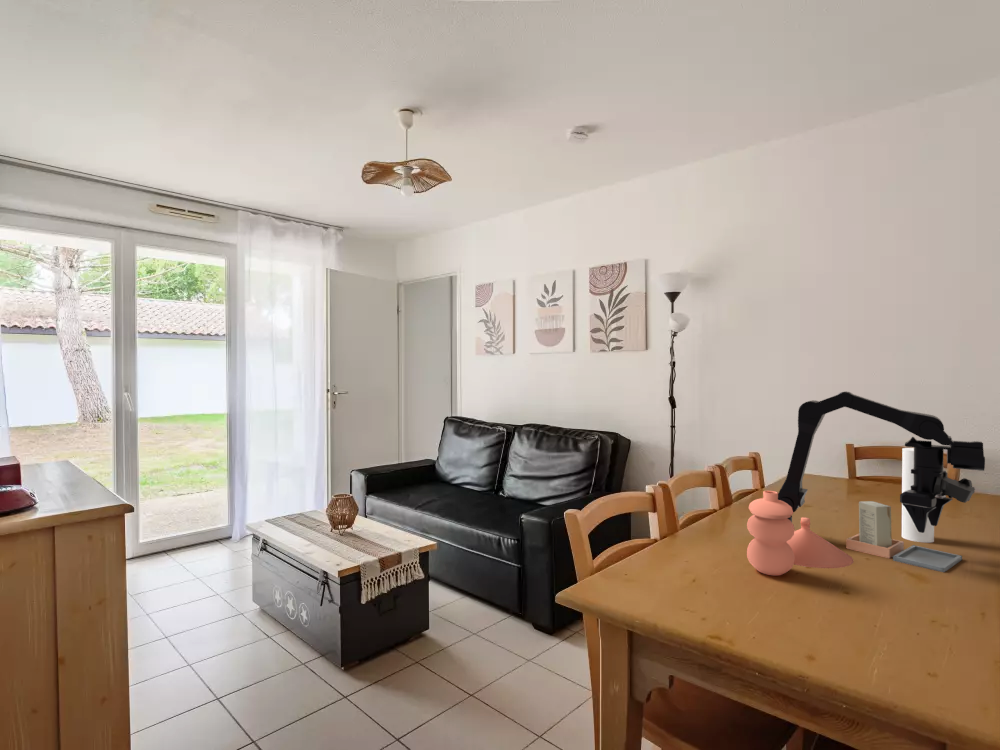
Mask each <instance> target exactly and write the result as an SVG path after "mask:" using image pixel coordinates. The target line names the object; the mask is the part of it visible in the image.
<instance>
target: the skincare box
mask: <svg viewBox="0 0 1000 750" xmlns="http://www.w3.org/2000/svg"><path fill="white" fill-rule="evenodd" d="M858 523H859V524H858V526H859V528H858V529H859V530H858V532H859V533H858V534H859V541H860V542H864V543H868V544H872V545H877V546H881V547H885V548H888V547H890V546H892V506H891V505H887V504H883V503H880V502H877V501H870V500H868V501H859V502H858Z"/></svg>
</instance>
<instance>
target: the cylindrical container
mask: <svg viewBox="0 0 1000 750" xmlns="http://www.w3.org/2000/svg"><path fill="white" fill-rule="evenodd" d="M901 450H902V451H901V453H902V457H901V460H902V461H901V465H902V466H901V470H902V471H901V494H902V493H903V492H905V491H908V490H911V486H912V485H914V474H911V469H914V447H902V449H901ZM901 538H903V539H905V540H908V541H911V542H915V543H917V542H918V543H925V544H926V543H934V542H935V526H932V525H931V523H930V521H929V518H927V523H926V528H925V532H924V533H921V532H918V530H917V528H916V526H915V524H914V522H913V520H912V518H911V517H910V515H909V513H908V511H907V510H906V508H905V506H903V504H902V503H901Z"/></svg>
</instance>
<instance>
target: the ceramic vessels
mask: <svg viewBox="0 0 1000 750" xmlns="http://www.w3.org/2000/svg"><path fill="white" fill-rule="evenodd" d="M762 493H763V494H762V498H761V497H760V498H756V499H754V500H752V501H751V502H749V505H748V510H749V512H750V513H751V514H752V515H751V516H750V517H749V518H748V520H747V523H746V528H747V530H748V532H749V534H750V535H751V536H753V537H754V538H752V540H750V542H749V544H748V545H747V549H746V557H747V560H748V562H749V564H750V565H752V567H753V568H754V569H755V570H757V571H758V572H760V573H761V574H764V575H767V576H782V575H783V574H786V573H787V572H788V571H791V569H792V568H793V566H794V565H796V566H800V567H807V568H817V569H839V568H845V567H849V566H851V565H852V564H853V563H854V558H853V557H852V556H851V555H850V554H848V553H846V552H845V551H843V550H842V549H840V548H839V547H837V546H836V545H834V544H832V543H831V542H829V541H828V540H827V539H825V538H823V537H822V536H820V535H818V533H816V532H813V530H811V518H809V517H800V528H799V529H795V526H794V524H793V521H792V522H791V521H790V520H789V519H787V518H790V517H791V515H792V516H793V514H794V512H793V510H792V507H791V506H790V505H788V504H787V503H785V502H783V501H781V500H778V493H779V491H778V492H777V491H775V490H774V491H773V490H763V492H762Z"/></svg>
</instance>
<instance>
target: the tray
mask: <svg viewBox="0 0 1000 750" xmlns="http://www.w3.org/2000/svg"><path fill="white" fill-rule="evenodd" d="M962 560H963V555H959V554H955V553H951V552H946V551H941V550H937V549H933V548H927V547H924V546H918V545H915V544H913V545H911V546H909V547H907V548H906V549H904V550H903V551H902V552H900V553H898V554H896V555H894V556H893V557H892V561H893V562H896V563H897V562H898V563H901V564H906V565H910V566H915V567H919V568H922V569H926V570H927V569H928V570H931V571H936V572H941V573H946V572H947V571H948V570H950V569H951V568H952V567H954V566H956V565H957V564H958V563H960V562H962Z"/></svg>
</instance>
